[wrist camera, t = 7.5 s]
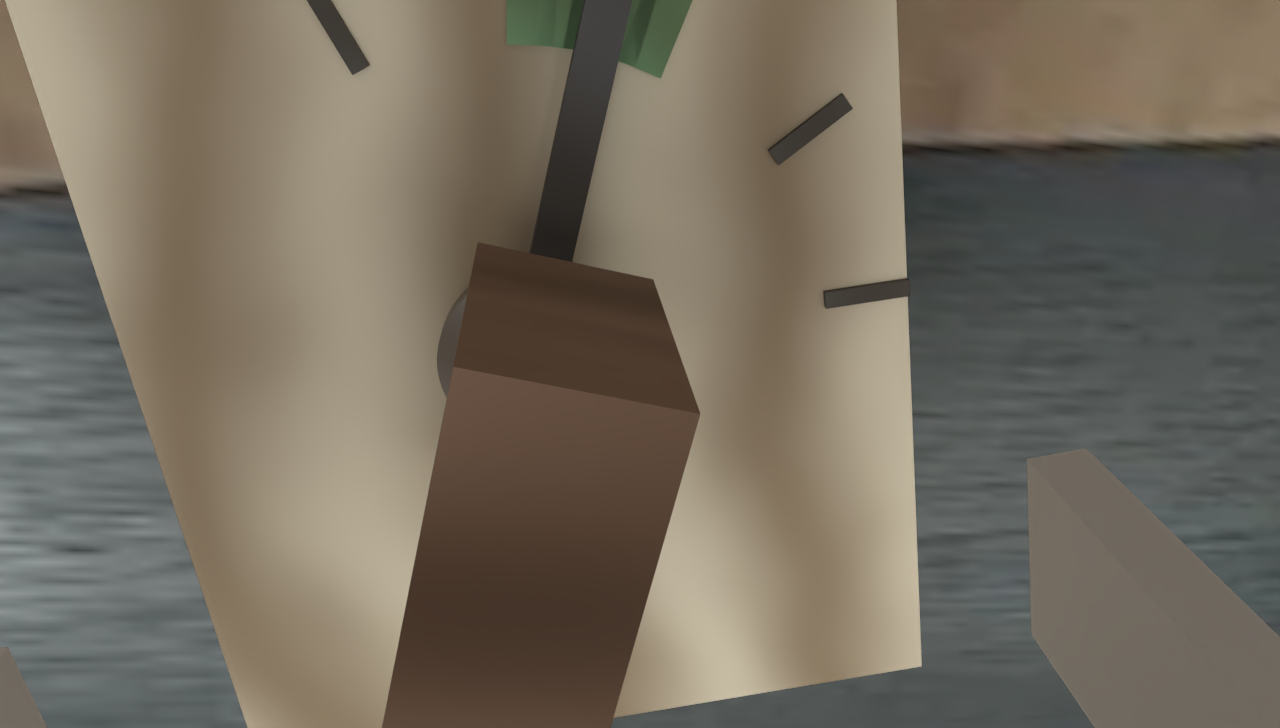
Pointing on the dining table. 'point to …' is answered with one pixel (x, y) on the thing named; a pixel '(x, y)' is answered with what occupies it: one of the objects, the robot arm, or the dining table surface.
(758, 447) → the tuner board
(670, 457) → the peg
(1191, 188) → the dining table surface
